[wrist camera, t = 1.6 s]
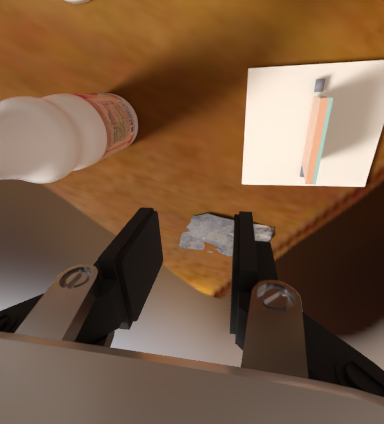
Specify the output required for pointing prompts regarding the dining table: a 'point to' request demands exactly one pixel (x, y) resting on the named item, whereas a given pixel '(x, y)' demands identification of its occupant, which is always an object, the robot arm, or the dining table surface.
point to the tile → (316, 137)
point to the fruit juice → (61, 133)
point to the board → (299, 120)
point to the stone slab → (217, 233)
